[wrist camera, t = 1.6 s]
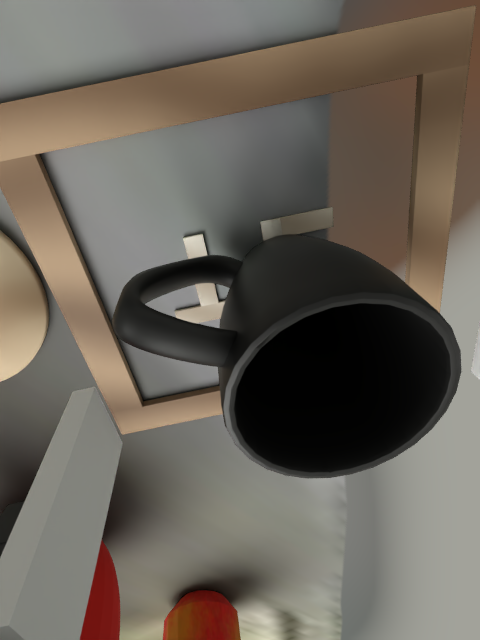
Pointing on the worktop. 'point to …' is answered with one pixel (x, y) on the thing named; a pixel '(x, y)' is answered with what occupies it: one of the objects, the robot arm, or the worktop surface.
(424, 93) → the brown wooden frame
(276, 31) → the worktop surface
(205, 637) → the apple
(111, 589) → the ceramic cup
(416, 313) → the mug
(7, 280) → the coaster
